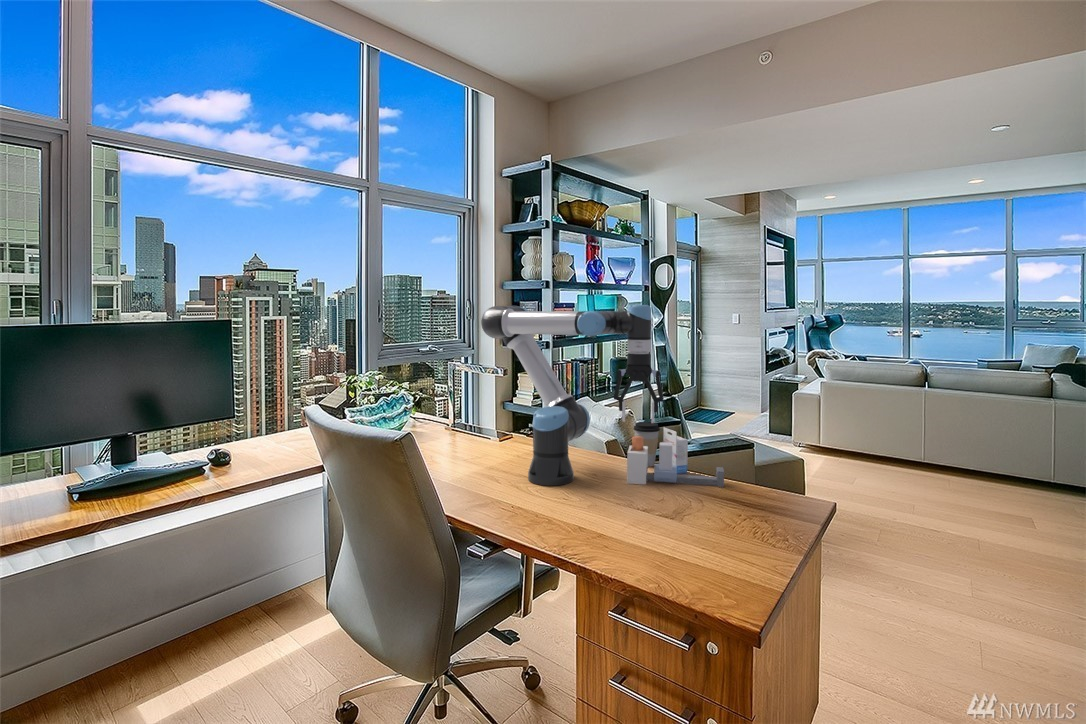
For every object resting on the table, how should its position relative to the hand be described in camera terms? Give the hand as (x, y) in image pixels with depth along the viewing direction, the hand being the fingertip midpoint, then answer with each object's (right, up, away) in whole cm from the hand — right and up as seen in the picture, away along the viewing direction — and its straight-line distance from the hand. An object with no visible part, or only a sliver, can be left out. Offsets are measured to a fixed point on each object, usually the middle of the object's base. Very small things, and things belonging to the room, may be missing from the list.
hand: (638, 421), depth 177 cm
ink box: (+15, -19, +12) cm, 26 cm away
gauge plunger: (0, -9, +1) cm, 9 cm away
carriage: (+9, -19, 0) cm, 21 cm away
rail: (+14, -20, -2) cm, 24 cm away
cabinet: (0, -19, +2) cm, 19 cm away
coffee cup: (+6, -18, +19) cm, 27 cm away
